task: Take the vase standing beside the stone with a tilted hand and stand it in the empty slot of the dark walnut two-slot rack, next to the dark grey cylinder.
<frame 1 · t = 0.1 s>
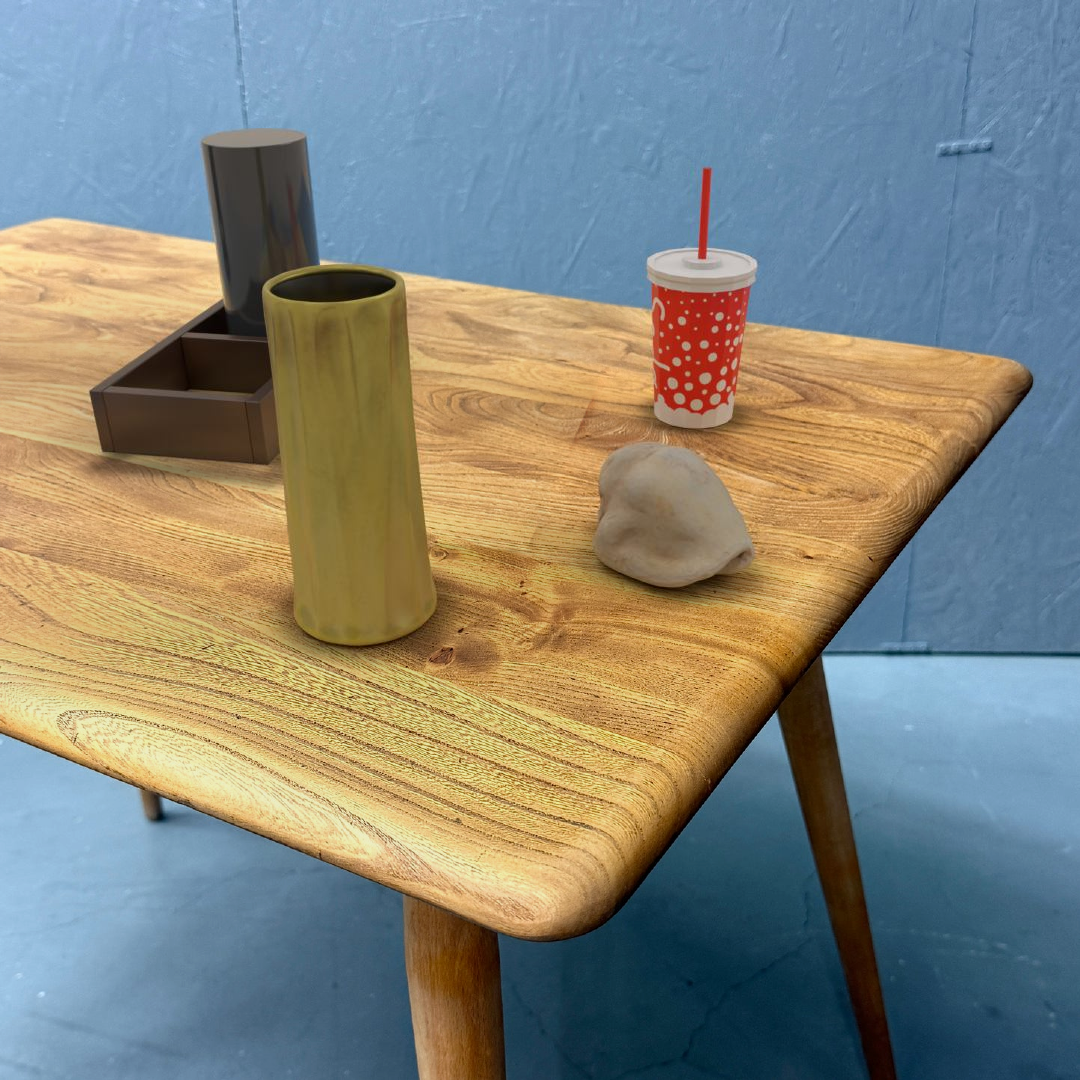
stone: (662, 557, 53), on the table
beverage cup: (692, 416, 68), on the table
rack: (255, 406, 70), on the table
vase: (366, 612, 50), on the table
dark grey cylinder: (282, 368, 73), resting on rack
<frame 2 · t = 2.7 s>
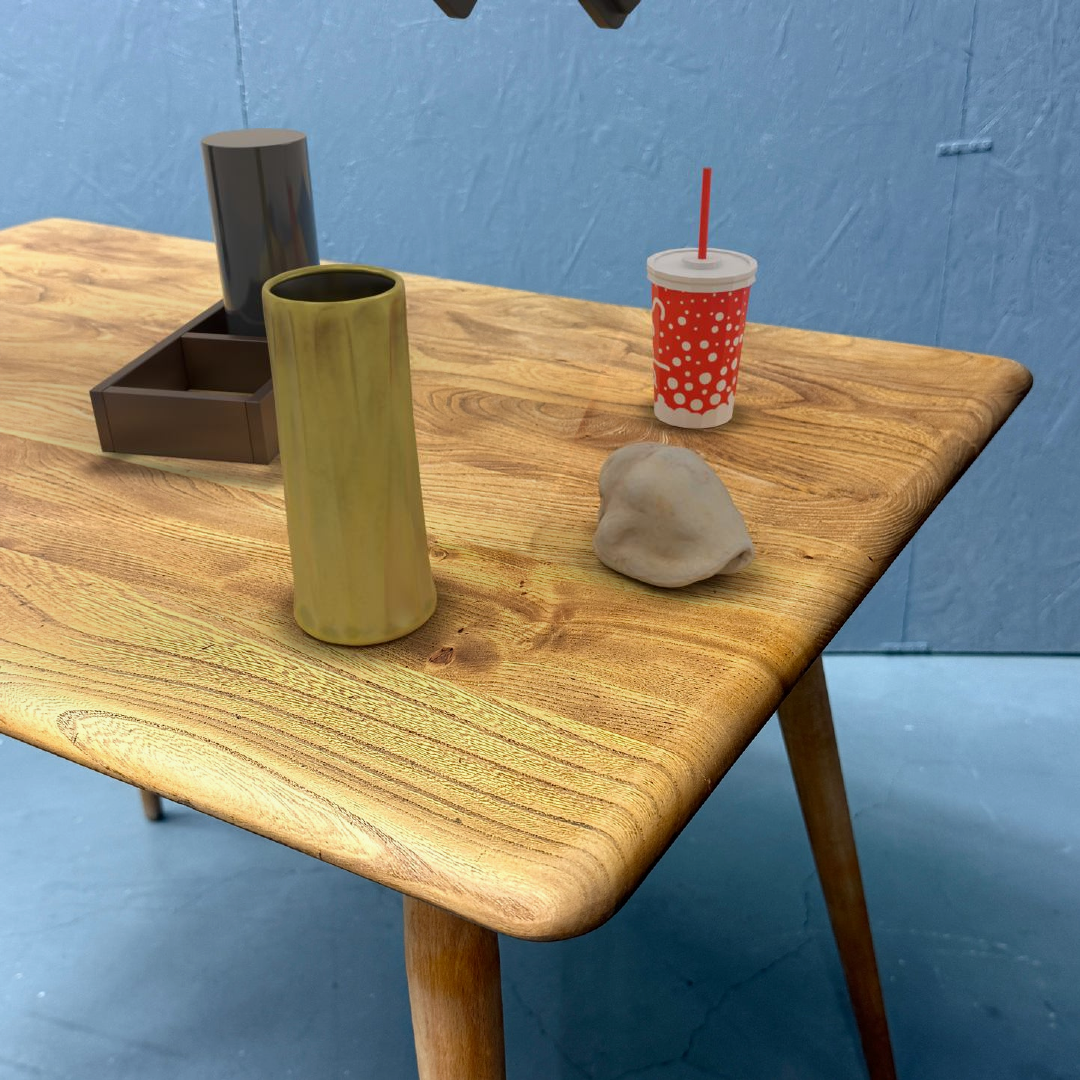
hand: (514, 9, 44), 23 cm above the table, tool tilted 40°, fingers open, 8 cm apart
nothing on the table moved.
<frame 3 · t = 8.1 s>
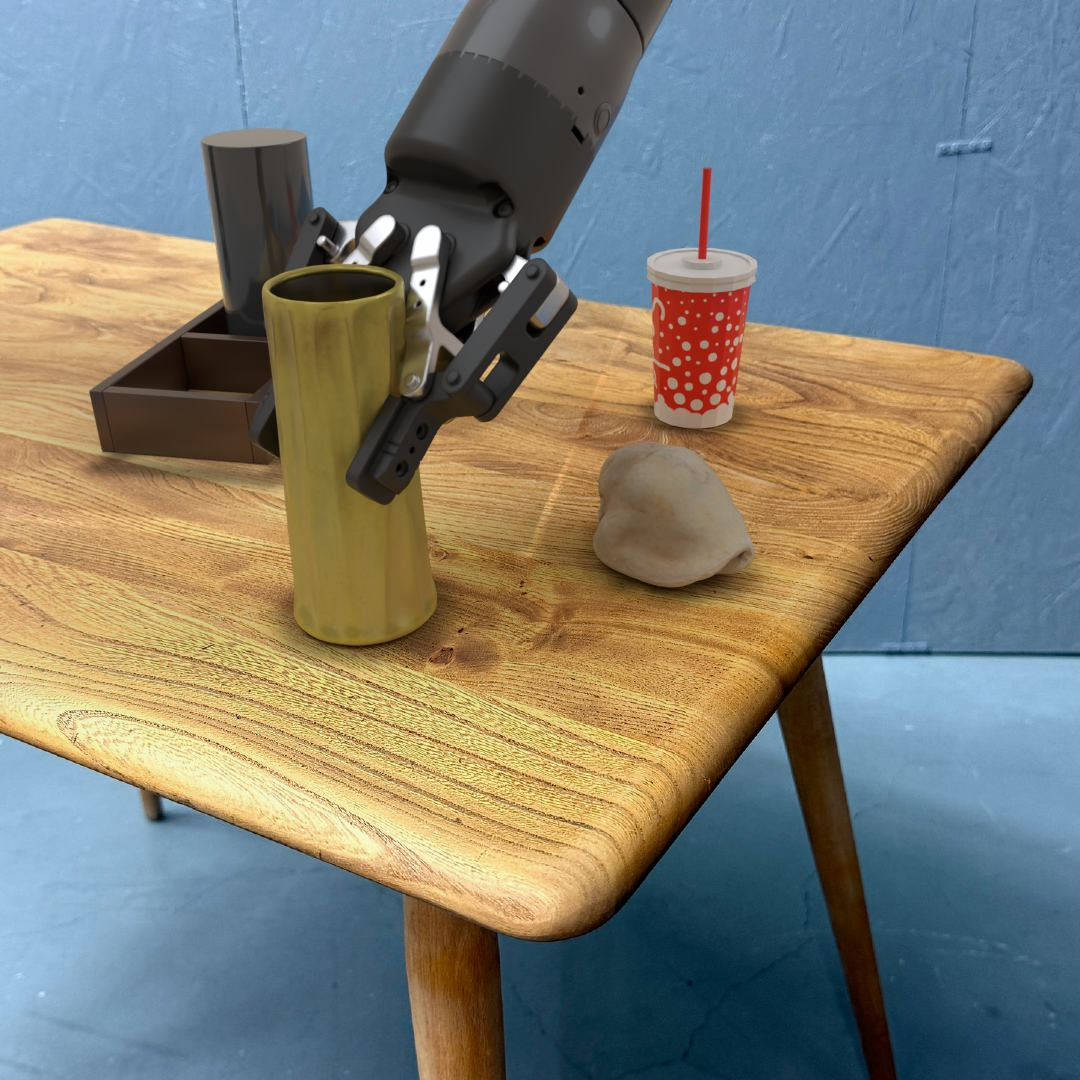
hand: (315, 471, 45), 7 cm above the table, tool tilted 45°, fingers closed on vase, 5 cm apart
vase: (366, 612, 50), on the table, touching gripper
everything else where it was.
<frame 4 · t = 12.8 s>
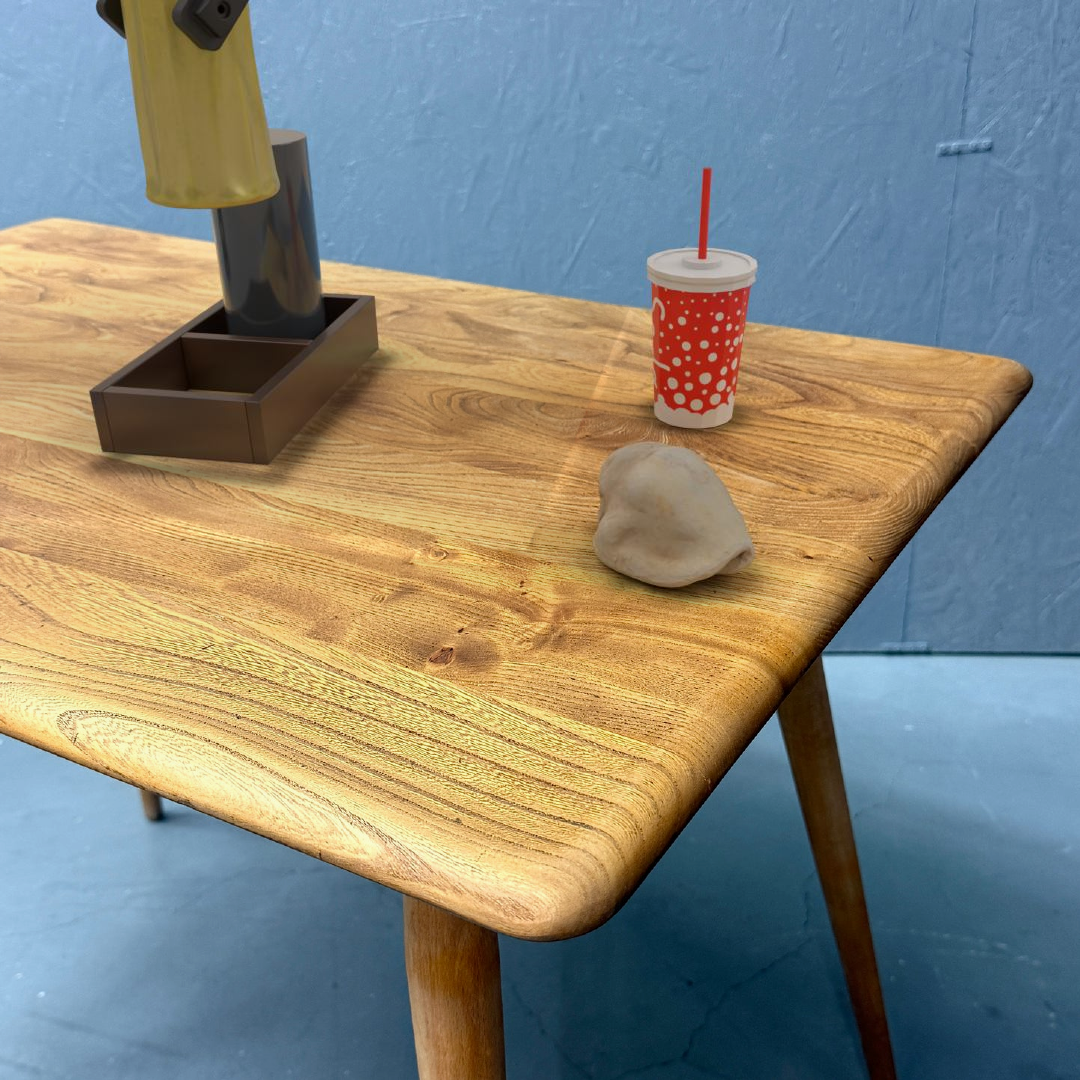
hand: (153, 30, 49), 22 cm above the table, tool tilted 45°, fingers closed on vase, 5 cm apart
vase: (214, 199, 54), point 14 cm above the table, touching gripper
everything else where it was.
when the fingers open (9 cm above the table, at t = 18.0 s): vase stays where it is, resting on rack.
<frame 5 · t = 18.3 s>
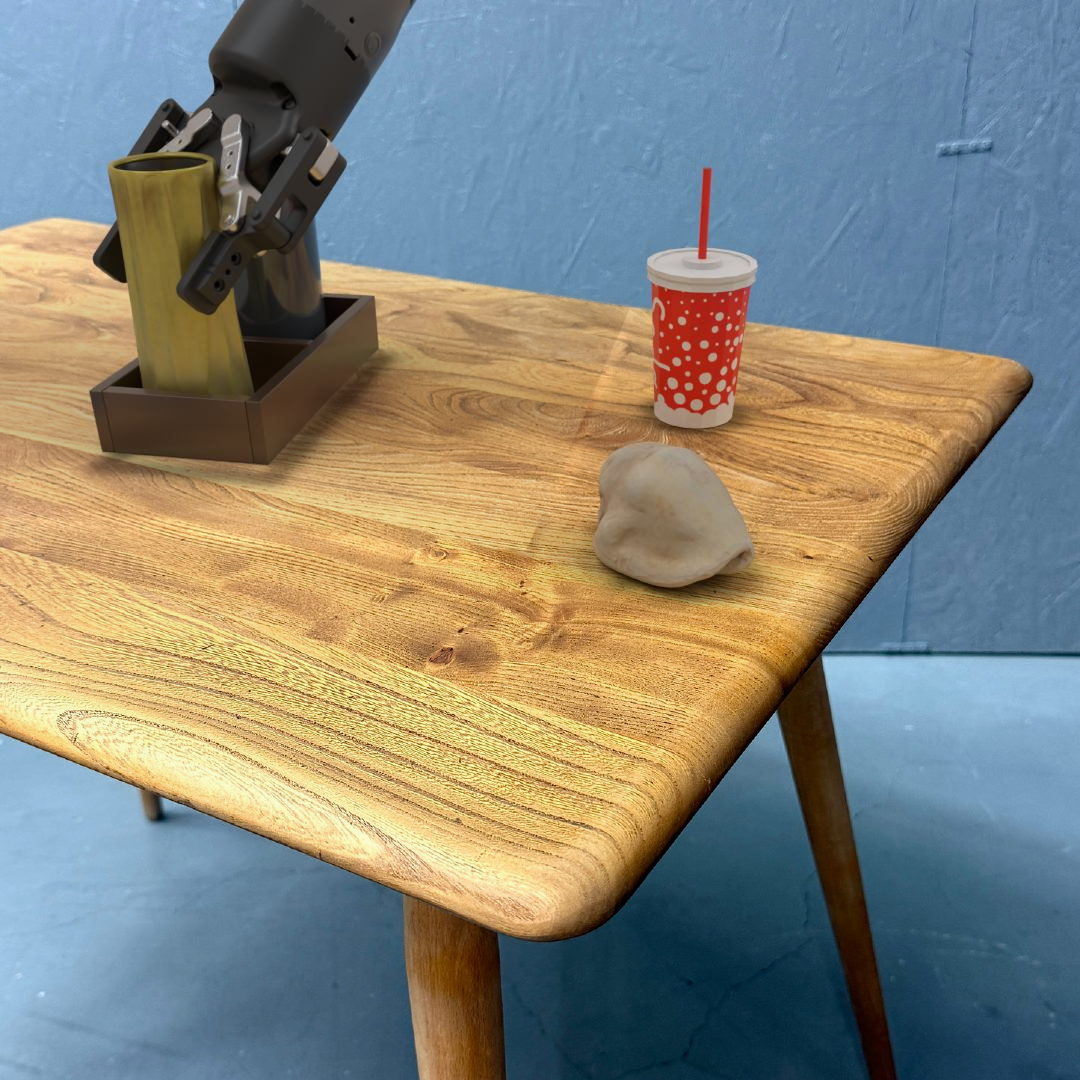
hand: (148, 288, 60), 9 cm above the table, tool tilted 45°, fingers open, 7 cm apart
vase: (204, 426, 65), point 1 cm above the table, touching rack
everything else where it was.
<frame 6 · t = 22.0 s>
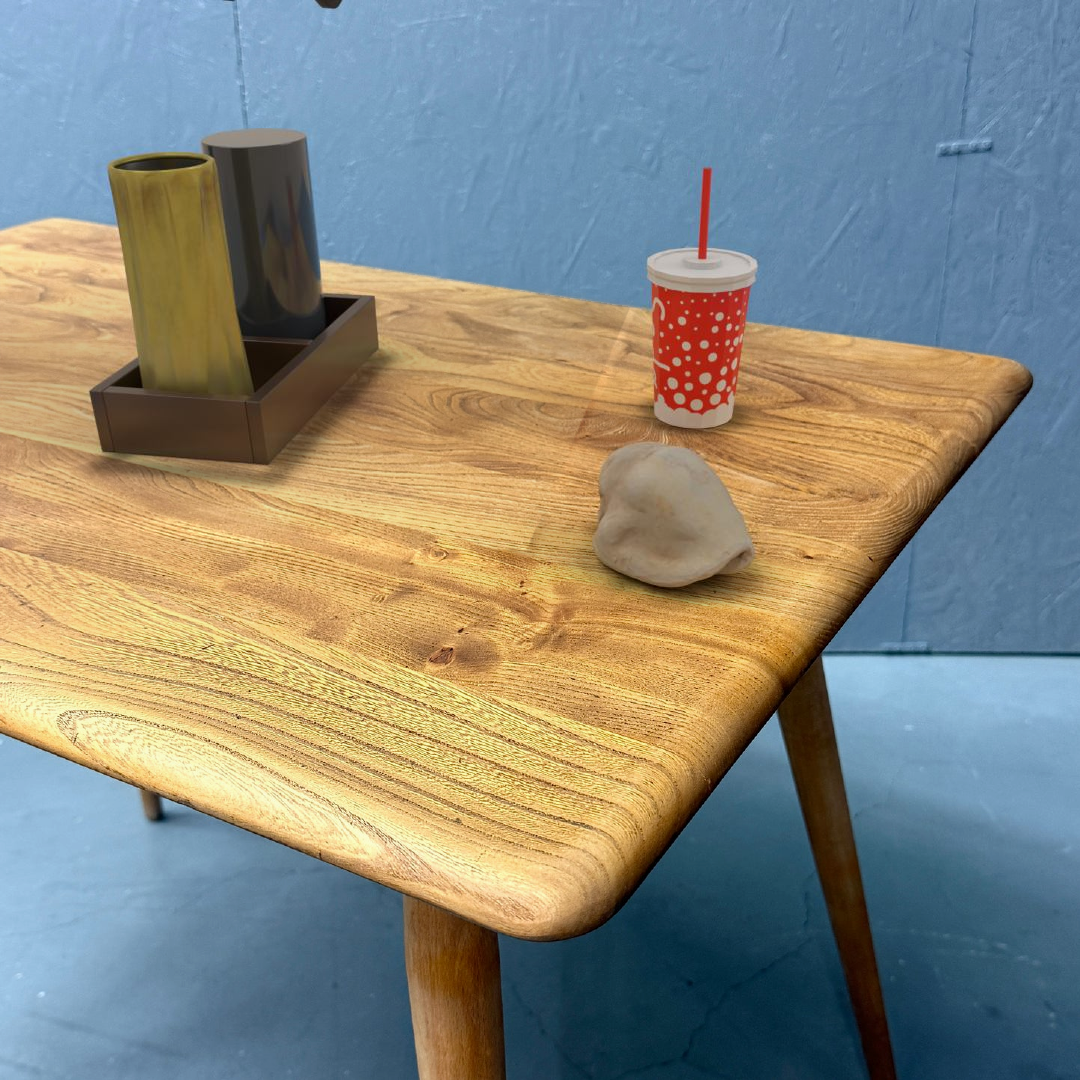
nothing on the table moved.
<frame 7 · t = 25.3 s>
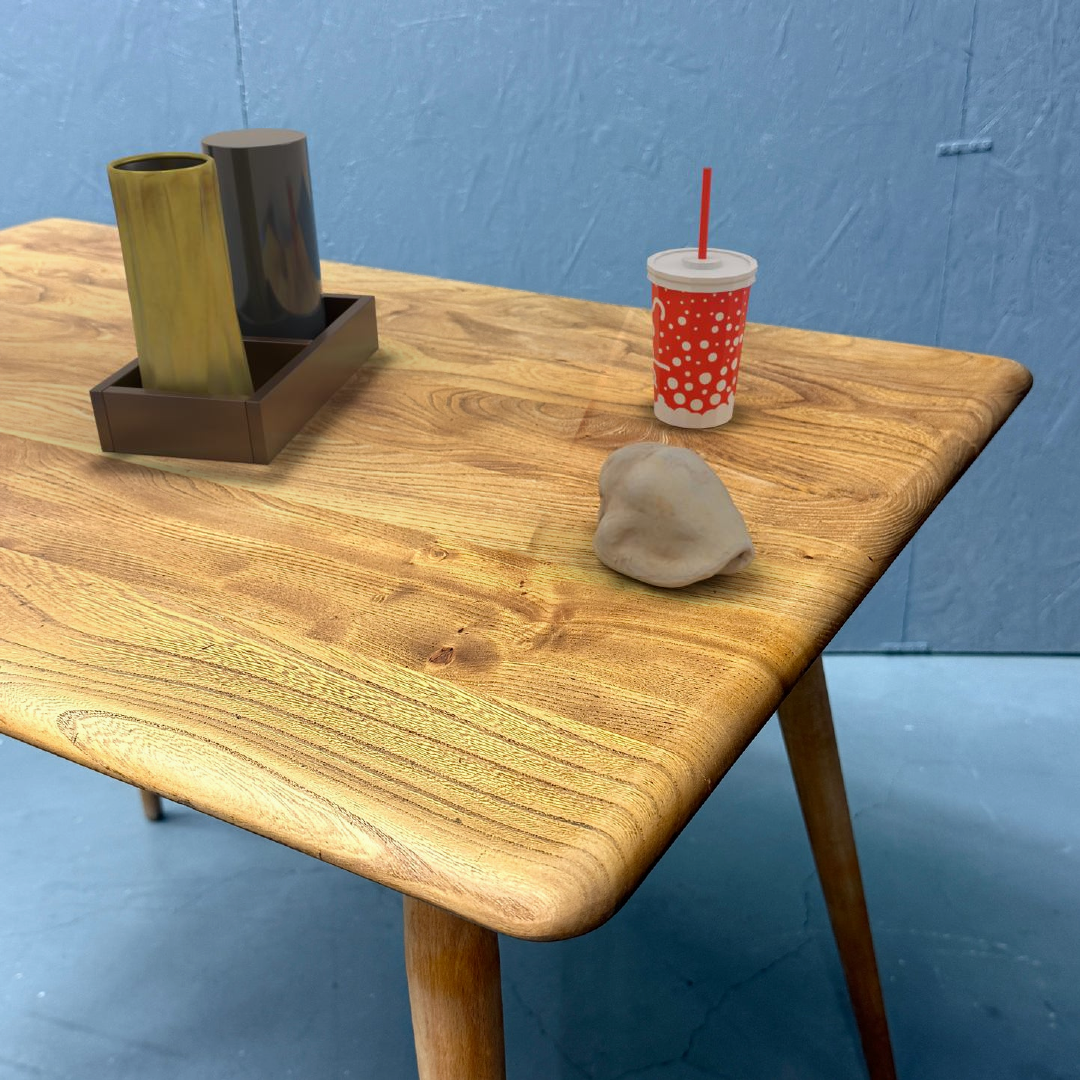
nothing on the table moved.
at the end: vase 1.1 cm from the target spot in the rack, point 0.8 cm above the rack's base; vase tilted 0°; the gripper is holding nothing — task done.
